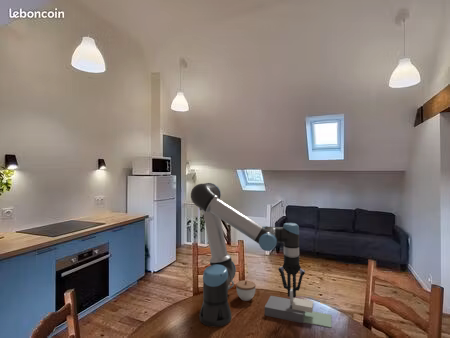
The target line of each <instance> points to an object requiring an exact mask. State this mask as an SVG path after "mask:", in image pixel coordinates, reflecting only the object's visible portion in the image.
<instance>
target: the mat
mask: <svg viewBox="0 0 450 338" xmlns="http://www.w3.org/2000/svg"><path fill="white" fill-rule="evenodd" d="M303 323H305V324H311V325H315V326H320V327H324V328H331V329H332V314H328V313H323V312H318V311H314V310H313V311H312V313H310V312H305V316H304V320H303Z"/></svg>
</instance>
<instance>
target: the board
mask: <svg viewBox="0 0 450 338" xmlns="http://www.w3.org/2000/svg"><path fill="white" fill-rule="evenodd" d="M264 316H266V317H272V318H275V319H281V320H286V321H289V322H290V321H291V322H295V323H300V324H304V322H303V320H304V316H305V312H304V311H299V310H294V309H292V305H290V298H286V297H280V296H275V295H270V296H269V297H268V300H267V302H266V303H265V305H264Z"/></svg>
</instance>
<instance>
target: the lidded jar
mask: <svg viewBox="0 0 450 338" xmlns="http://www.w3.org/2000/svg"><path fill="white" fill-rule="evenodd" d="M235 284H236V285H235V286H236V294H237V296H238V297H239V298H240V299H241V300H242V301H244V302H245V301H246V302H247V301H251V300H252V299H253V297H254V296H255V294H256V286H257V285H256V283H255V282H254V281H252V280H248V279H247V280H239V281H237V282H236V283H235Z"/></svg>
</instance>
